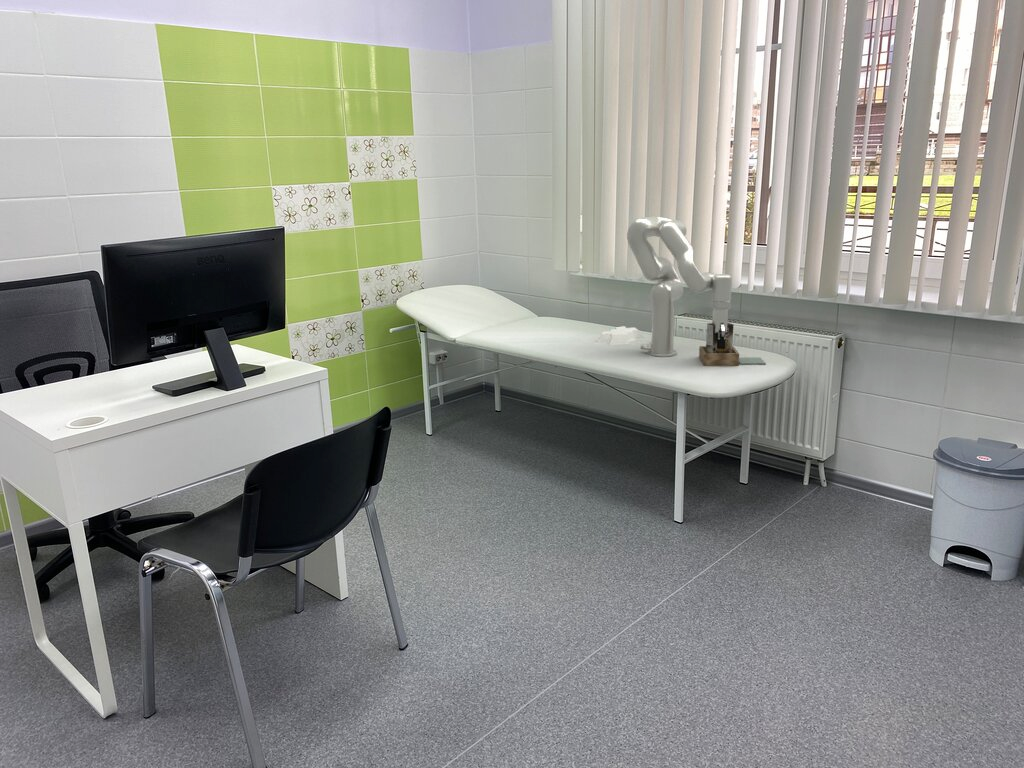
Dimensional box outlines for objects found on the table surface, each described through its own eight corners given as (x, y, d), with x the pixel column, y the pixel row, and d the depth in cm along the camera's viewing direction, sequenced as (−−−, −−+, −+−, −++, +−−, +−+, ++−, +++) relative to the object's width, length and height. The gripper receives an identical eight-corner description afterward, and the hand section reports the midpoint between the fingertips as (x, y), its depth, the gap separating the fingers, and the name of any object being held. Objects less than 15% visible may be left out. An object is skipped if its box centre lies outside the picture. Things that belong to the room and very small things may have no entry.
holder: (703, 365, 310) (704, 353, 308) (698, 357, 323) (699, 346, 322) (738, 365, 308) (739, 353, 307) (732, 357, 322) (733, 346, 320)
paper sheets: (621, 351, 340) (621, 339, 339) (583, 347, 352) (583, 335, 350) (656, 337, 367) (656, 326, 365) (620, 333, 379) (621, 322, 377)
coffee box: (712, 364, 311) (714, 325, 307) (704, 360, 317) (706, 323, 313) (732, 362, 314) (734, 324, 309) (724, 358, 320) (726, 321, 315)
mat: (740, 364, 309) (740, 363, 309) (735, 358, 319) (736, 357, 319) (765, 364, 308) (765, 363, 308) (760, 358, 318) (760, 357, 318)
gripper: (708, 301, 318) (706, 342, 323) (715, 308, 301) (713, 351, 306) (726, 301, 317) (724, 341, 322) (734, 308, 300) (732, 351, 305)
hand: (719, 346), depth 314 cm, fingers closed on coffee box, 8 cm apart
